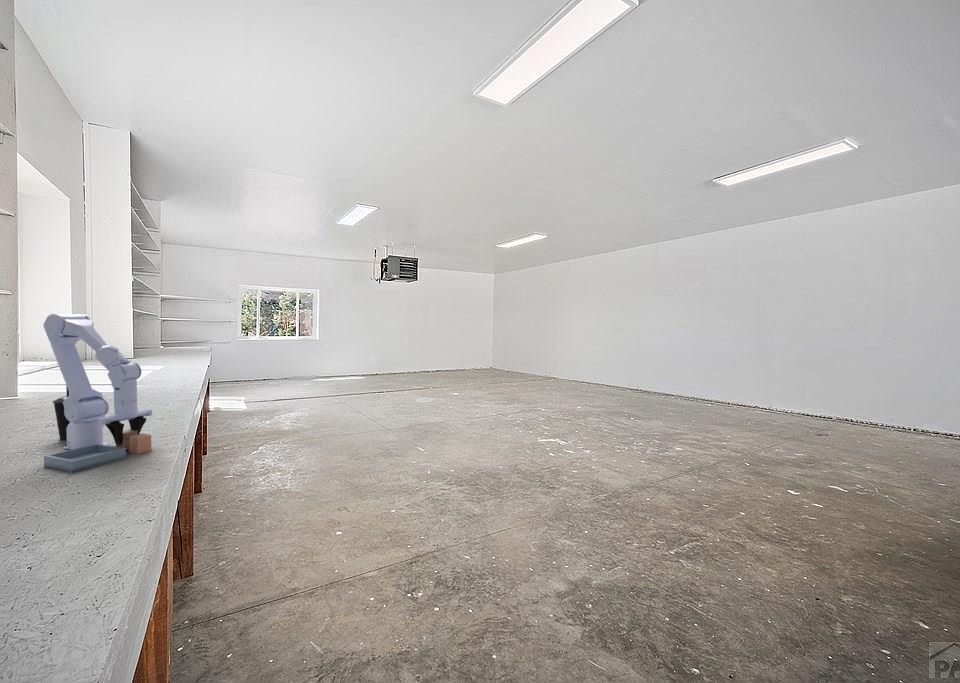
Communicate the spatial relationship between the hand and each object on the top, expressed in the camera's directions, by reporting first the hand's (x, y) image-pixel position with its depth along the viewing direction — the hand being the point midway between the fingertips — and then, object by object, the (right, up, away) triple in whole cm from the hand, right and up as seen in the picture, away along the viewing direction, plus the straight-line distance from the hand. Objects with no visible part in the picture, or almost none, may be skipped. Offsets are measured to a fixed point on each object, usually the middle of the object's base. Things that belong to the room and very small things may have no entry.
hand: (126, 442), depth 136 cm
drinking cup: (-30, -2, +12) cm, 32 cm away
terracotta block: (+5, -3, -1) cm, 6 cm away
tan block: (0, -1, 0) cm, 1 cm away
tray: (-2, -3, -12) cm, 12 cm away
